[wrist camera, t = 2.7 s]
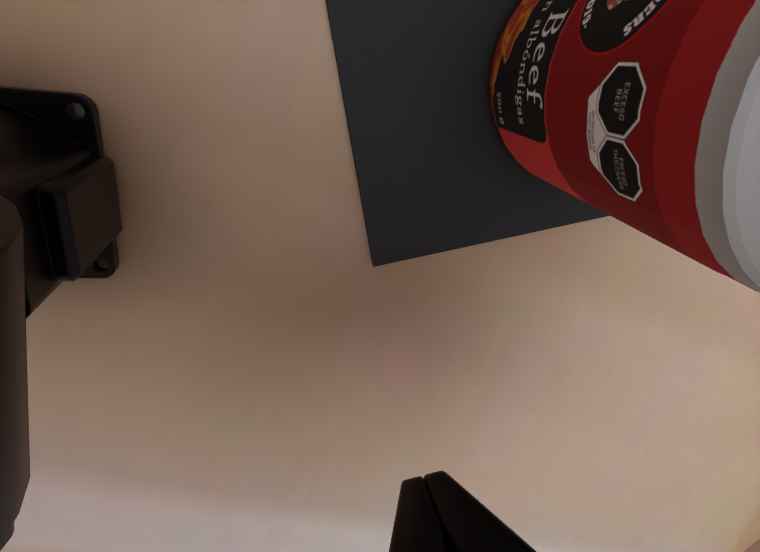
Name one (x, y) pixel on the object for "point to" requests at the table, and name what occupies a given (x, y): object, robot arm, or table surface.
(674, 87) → the canned food
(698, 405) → the table surface
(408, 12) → the mat
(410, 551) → the robot arm
